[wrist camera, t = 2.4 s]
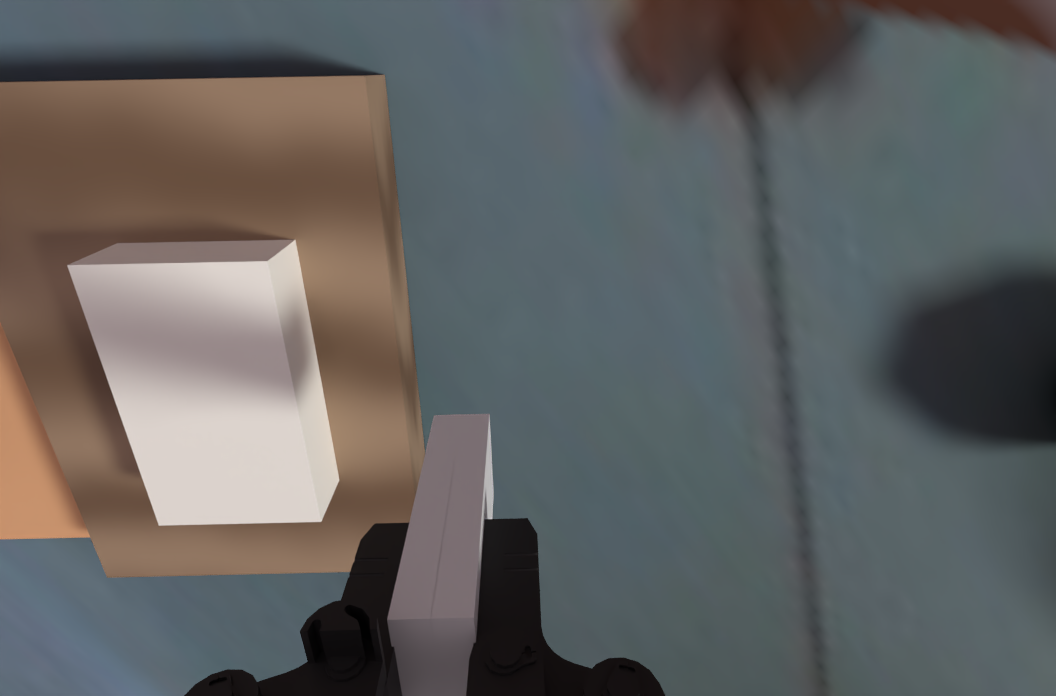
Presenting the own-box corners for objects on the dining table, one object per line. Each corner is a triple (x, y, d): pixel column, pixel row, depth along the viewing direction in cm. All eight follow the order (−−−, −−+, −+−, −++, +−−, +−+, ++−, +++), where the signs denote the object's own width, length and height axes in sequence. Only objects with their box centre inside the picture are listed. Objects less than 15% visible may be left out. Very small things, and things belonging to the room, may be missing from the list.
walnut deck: (432, 523, 29) (423, 570, 27) (145, 530, 29) (107, 577, 27) (384, 75, 21) (364, 76, 18) (-19, 82, 21) (-100, 83, 18)
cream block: (339, 479, 25) (321, 521, 22) (191, 483, 25) (158, 525, 22) (295, 239, 20) (267, 261, 18) (117, 243, 20) (67, 265, 18)
